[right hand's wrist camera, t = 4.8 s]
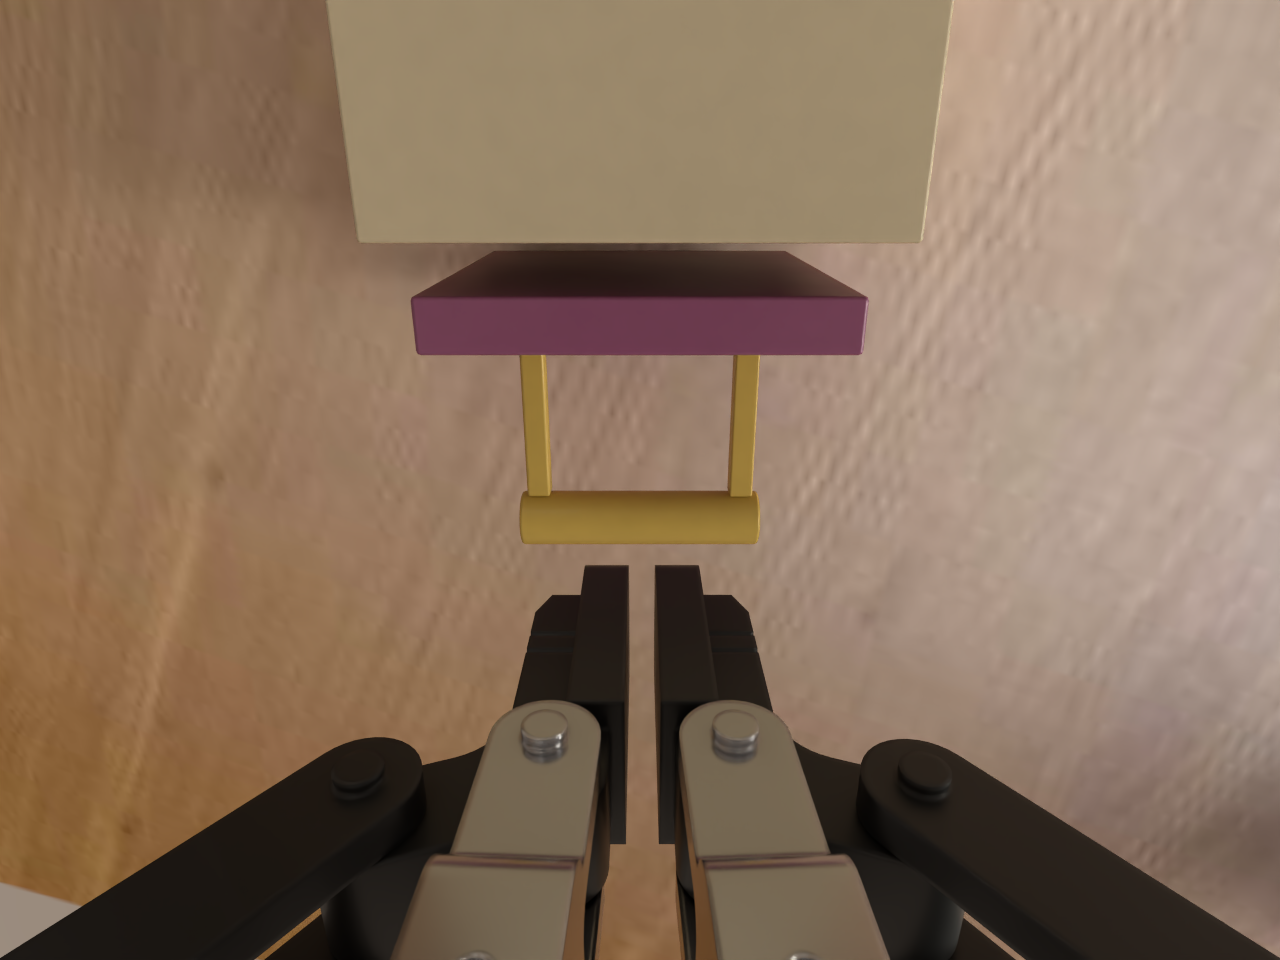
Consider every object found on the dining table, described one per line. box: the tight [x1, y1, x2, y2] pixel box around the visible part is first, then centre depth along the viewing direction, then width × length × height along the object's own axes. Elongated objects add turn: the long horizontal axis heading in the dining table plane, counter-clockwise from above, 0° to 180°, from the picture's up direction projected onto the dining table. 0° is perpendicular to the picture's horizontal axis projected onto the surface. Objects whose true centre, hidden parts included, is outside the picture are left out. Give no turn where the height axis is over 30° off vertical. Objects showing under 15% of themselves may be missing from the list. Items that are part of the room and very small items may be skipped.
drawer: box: [411, 251, 869, 544], centre depth 18 cm, size 26×9×9 cm, turn 0°
